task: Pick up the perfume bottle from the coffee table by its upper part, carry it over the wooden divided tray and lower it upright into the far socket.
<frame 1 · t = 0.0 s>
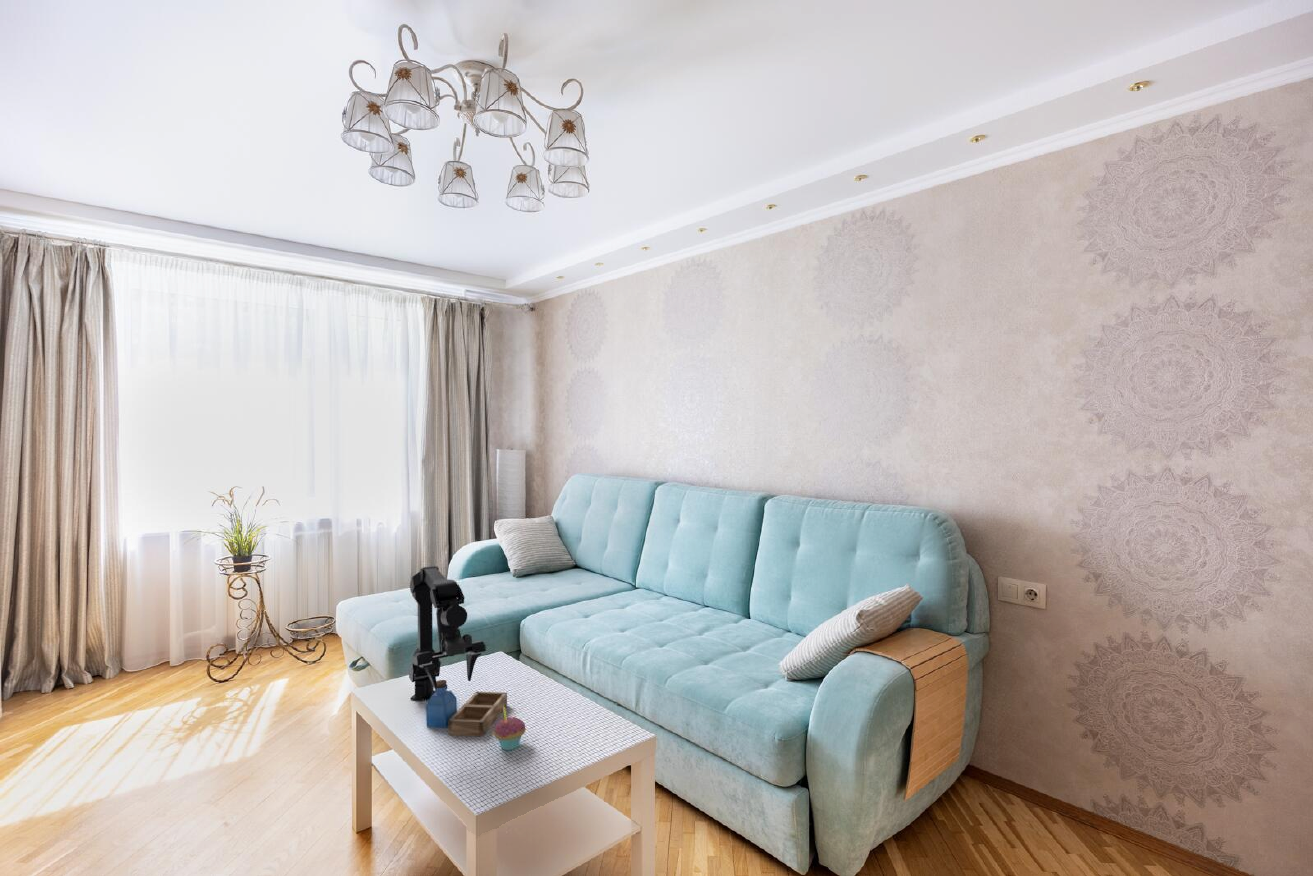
hand: (452, 685, 170), 15 cm above the table, tool pointing down, fingers open, 9 cm apart
wooden divided tray: (479, 719, 182), on the table
perfume bottle: (441, 723, 181), on the table
cupcake: (509, 746, 167), on the table
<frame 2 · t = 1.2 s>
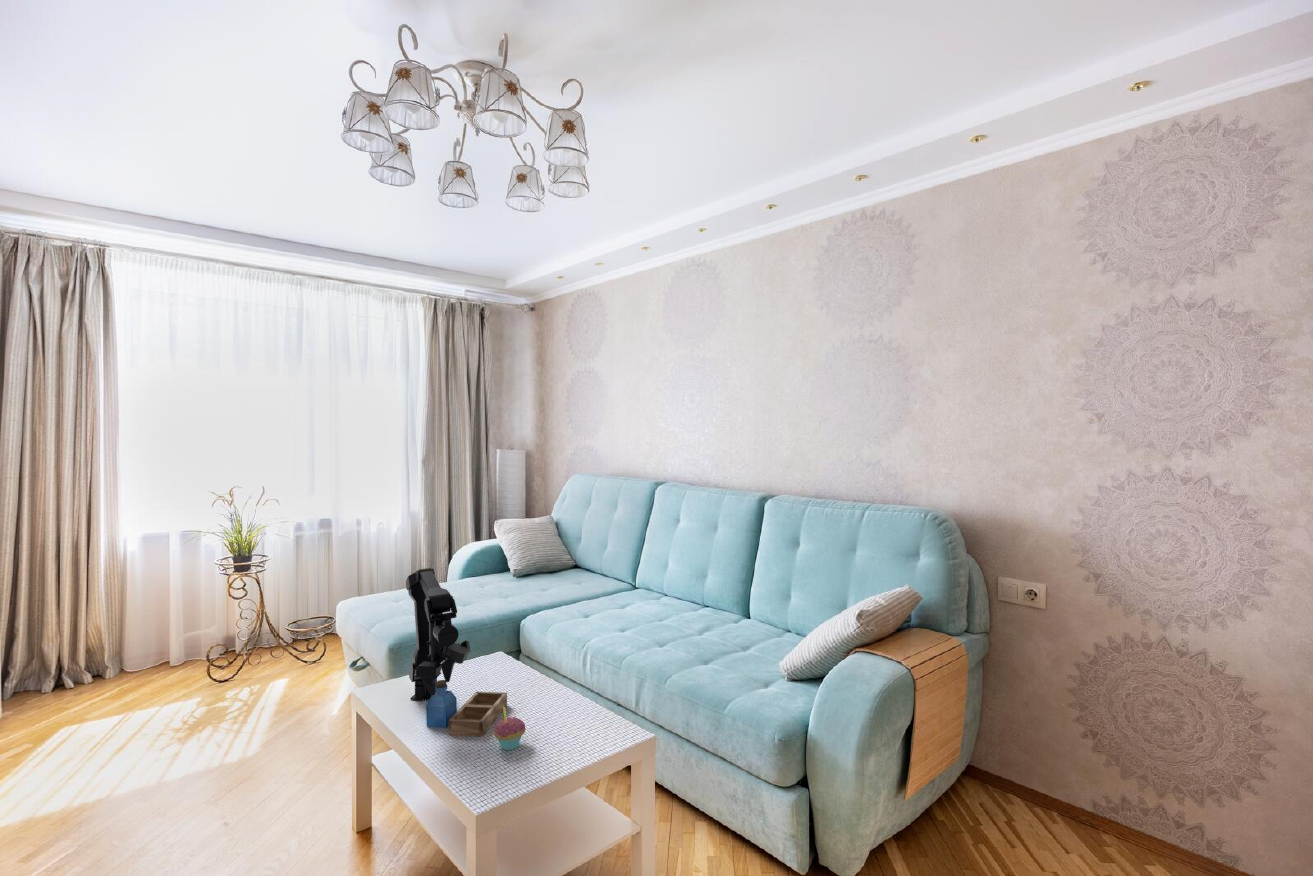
hand: (440, 688, 180), 10 cm above the table, tool pointing down, fingers open, 9 cm apart
nothing on the table moved.
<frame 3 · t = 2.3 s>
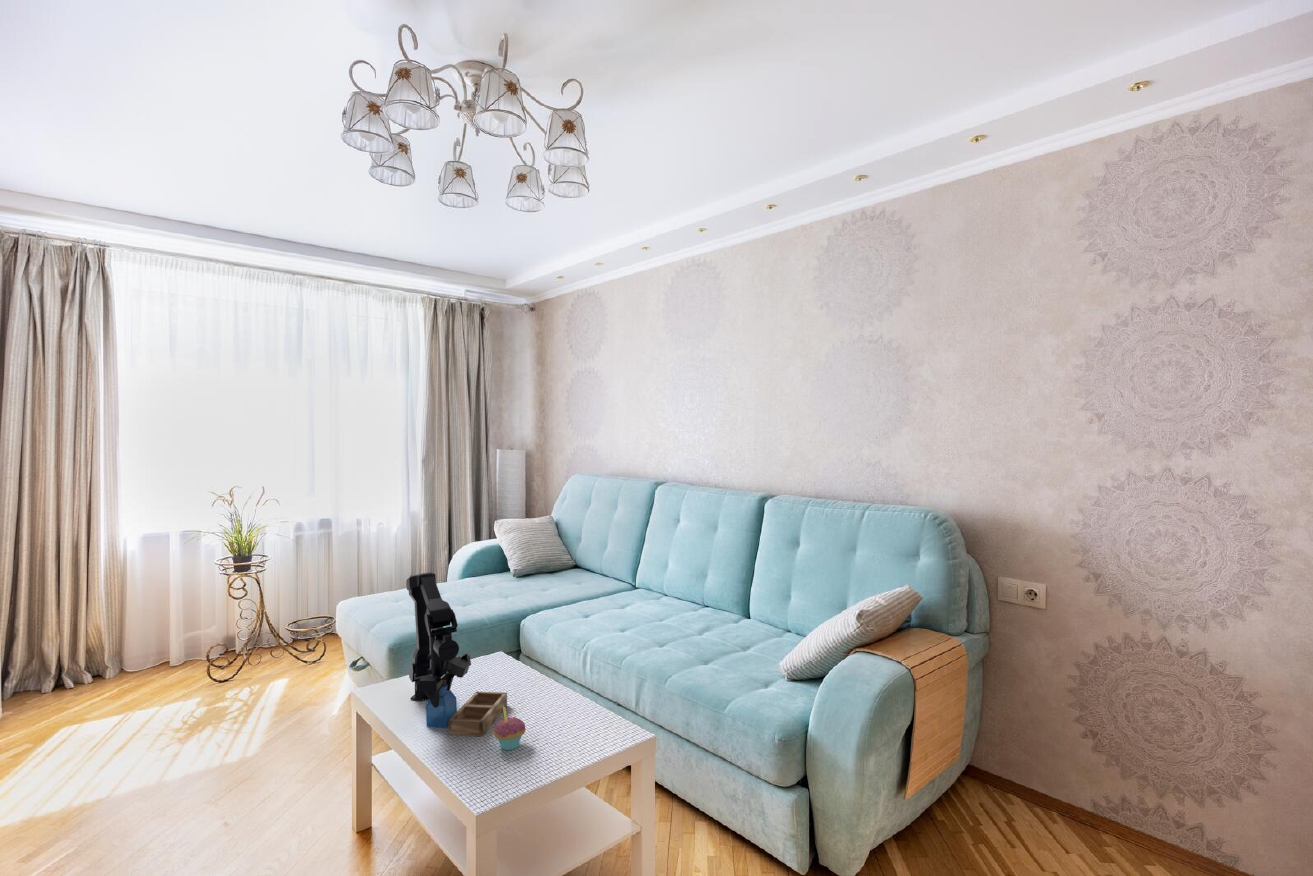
hand: (441, 702, 181), 6 cm above the table, tool pointing down, fingers open, 6 cm apart
perfume bottle: (441, 722, 181), on the table, touching gripper
everything else where it was.
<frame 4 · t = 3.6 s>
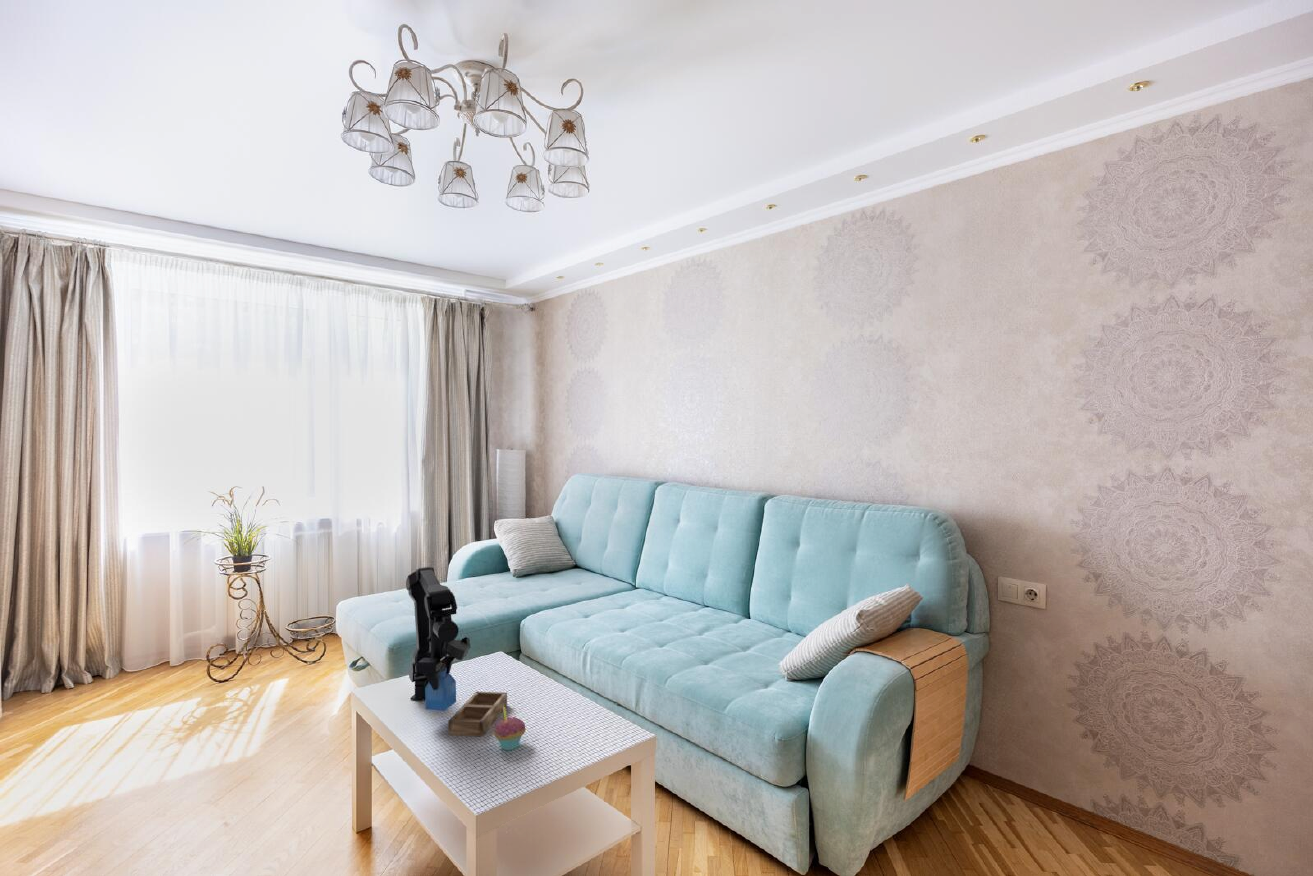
hand: (440, 685, 180), 11 cm above the table, tool pointing down, fingers closed on perfume bottle, 6 cm apart
perfume bottle: (441, 706, 180), point 5 cm above the table, touching gripper
everything else where it was.
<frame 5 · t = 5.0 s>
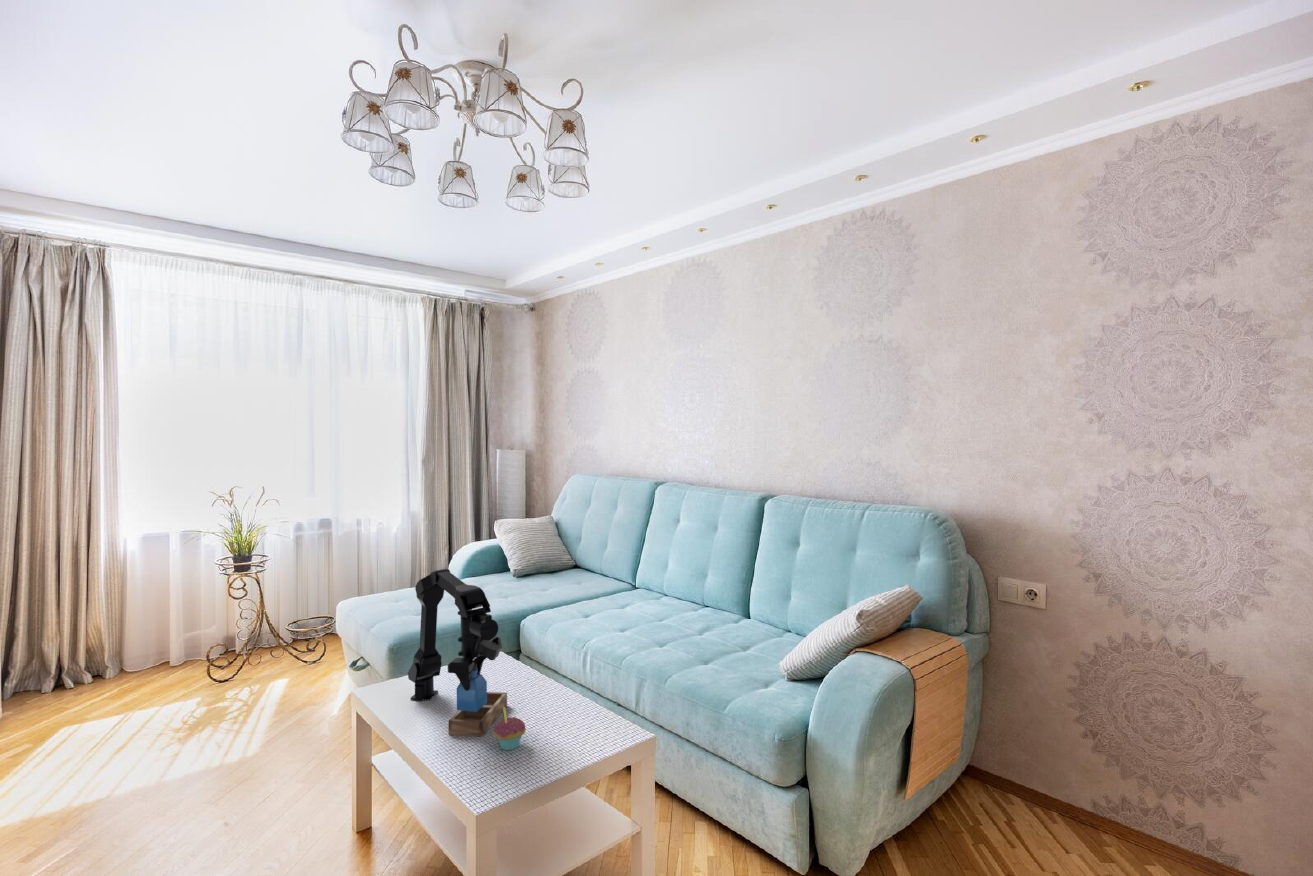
hand: (471, 685, 177), 12 cm above the table, tool pointing down, fingers closed on perfume bottle, 6 cm apart
perfume bottle: (472, 706, 178), point 6 cm above the table, touching gripper
everything else where it was.
when the fingers open (8 cm above the table, at t = 6.6 s): perfume bottle stays where it is, resting on wooden divided tray.
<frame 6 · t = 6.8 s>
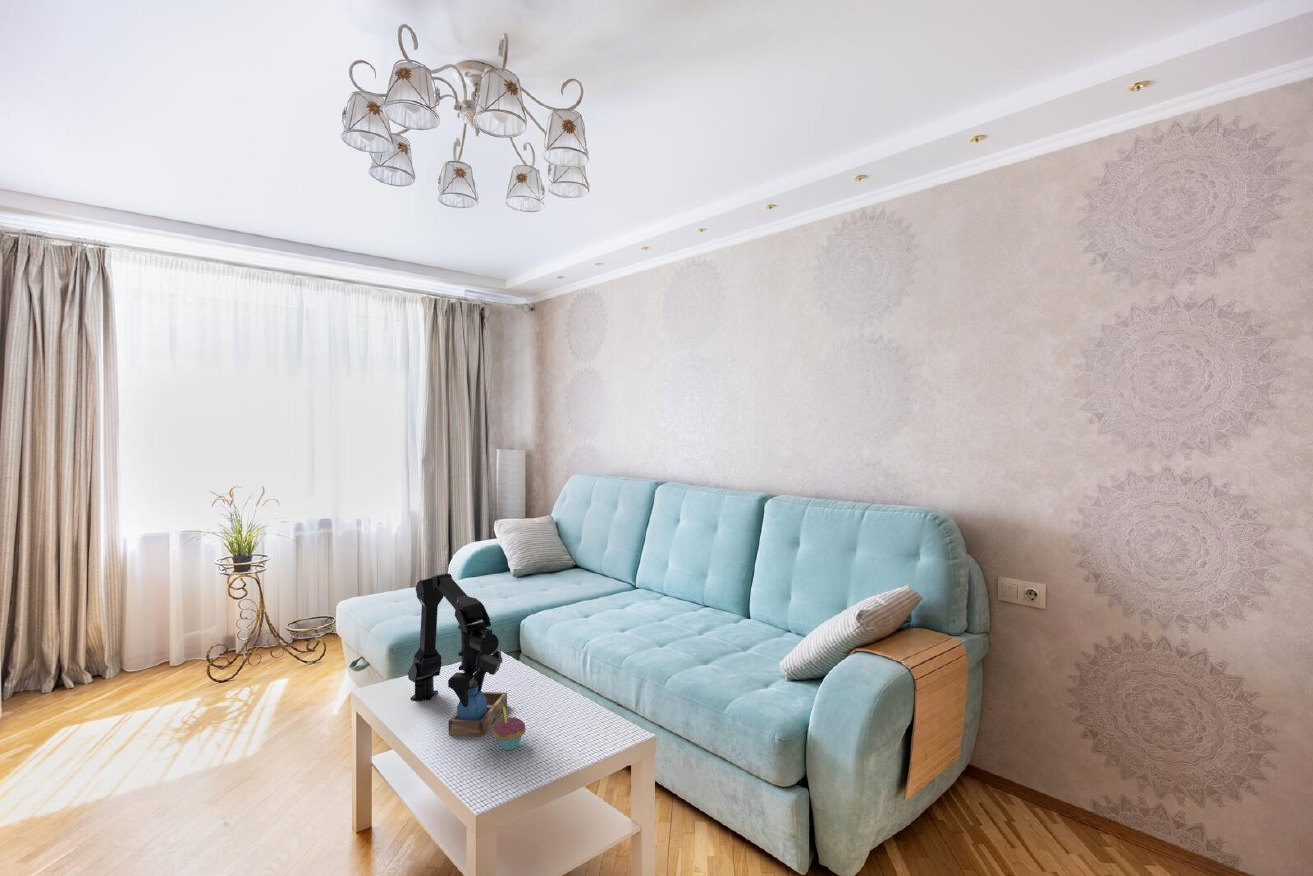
hand: (472, 699, 177), 8 cm above the table, tool pointing down, fingers open, 9 cm apart
perfume bottle: (472, 724, 178), point 1 cm above the table, touching wooden divided tray
everything else where it was.
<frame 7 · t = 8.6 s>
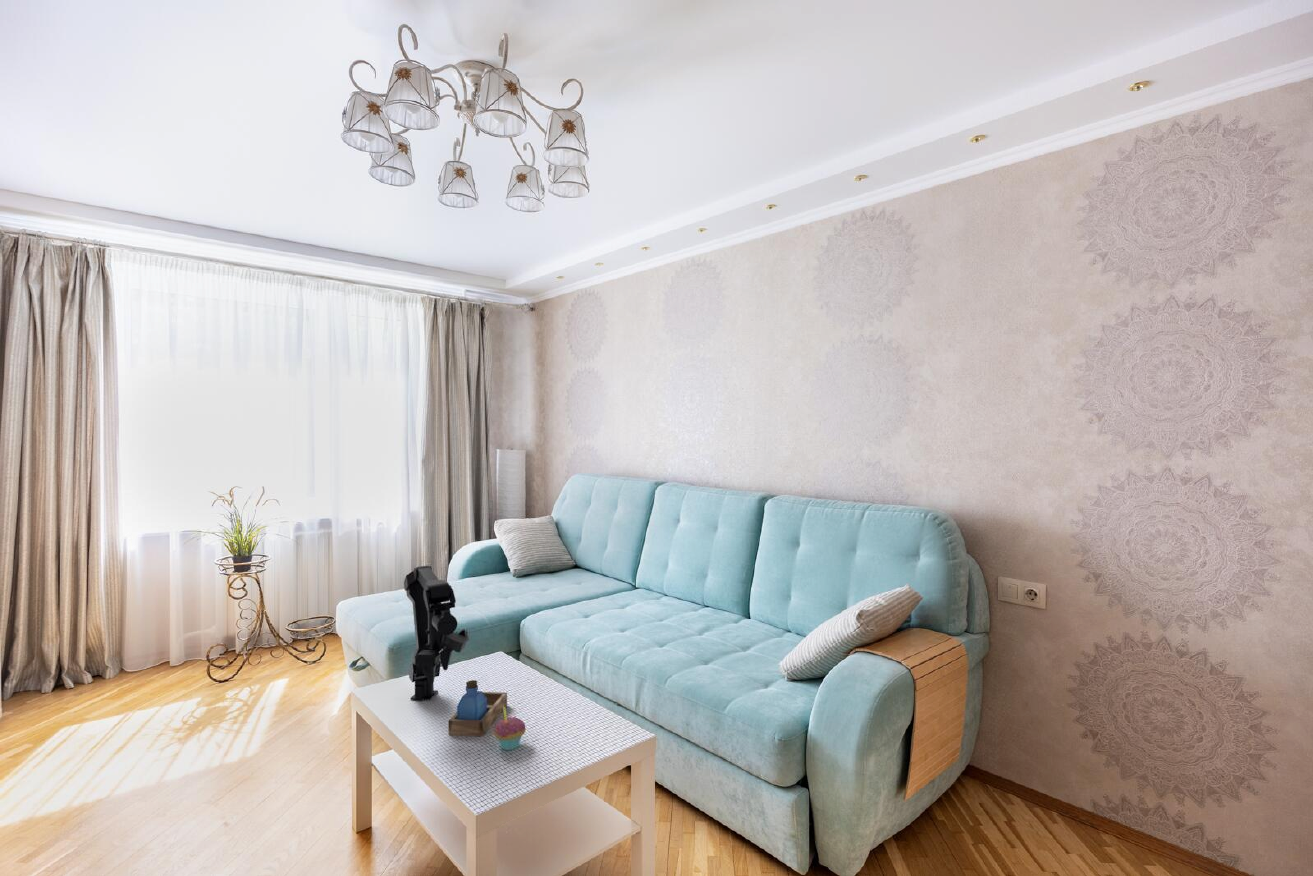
hand: (438, 676, 184), 12 cm above the table, tool pointing down, fingers open, 9 cm apart
nothing on the table moved.
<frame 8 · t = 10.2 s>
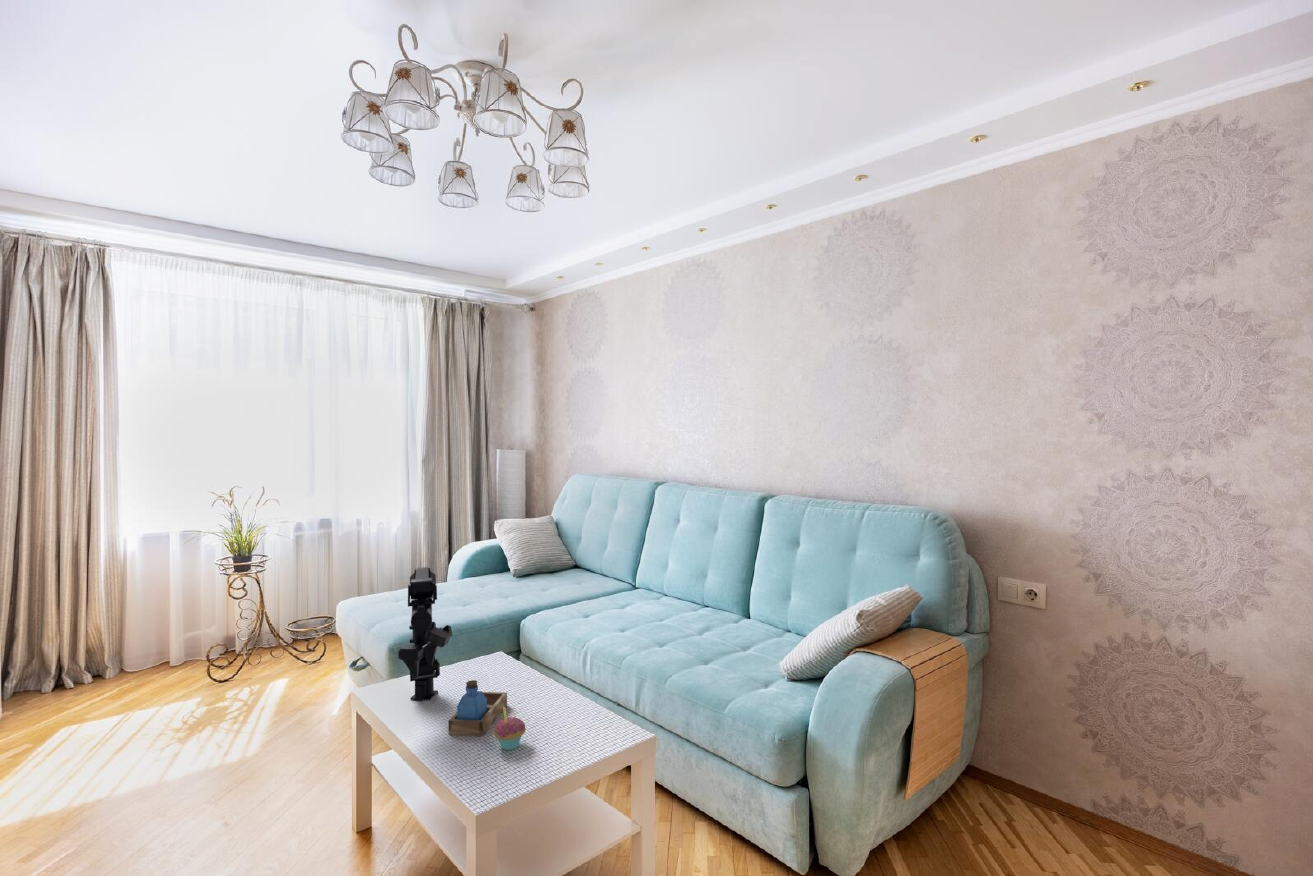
hand: (423, 671, 186), 13 cm above the table, tool pointing down, fingers open, 9 cm apart
nothing on the table moved.
at the end: perfume bottle 0.1 cm from the target spot on the wooden divided tray, point 0.8 cm above the wooden divided tray's base; perfume bottle tilted 0°; the gripper is holding nothing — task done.
